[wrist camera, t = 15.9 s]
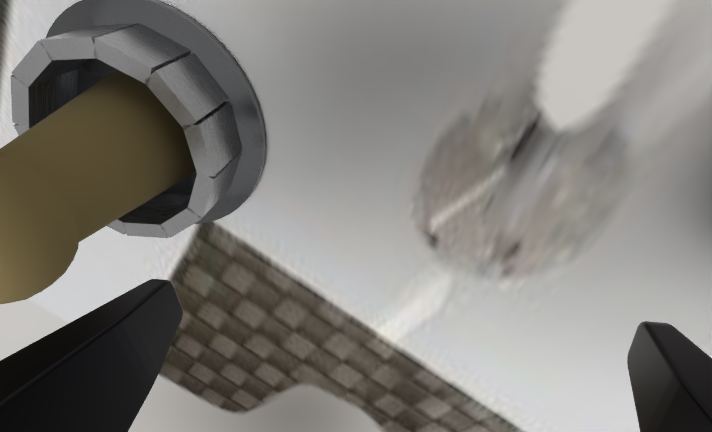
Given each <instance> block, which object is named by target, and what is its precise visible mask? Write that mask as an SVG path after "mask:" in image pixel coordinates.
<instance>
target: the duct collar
mask: <svg viewBox="0 0 712 432" xmlns="http://www.w3.org/2000/svg"><path fill="white" fill-rule="evenodd" d="M118 70H120V71H122V72H123V73H125V74H127V75H129V76H131V77H133V78H135V79H137V80H139V81H141V82H143V83H145V84H146V85H147V86H148V87H149V89H150V90H151V91H152V92H153V93H154V94H155V96H156V97H157V98H158V99H159V100H160V101H161V103H162V104H163V105H164V106H165V107H166V109H167V110H168V111H169V112H170V113H171V114H172V116H173V117H174V118H175V119H176V120H177V121H178V123H179V124H180V125H181V126H182V127H183V130H184V133H185V136H186V139H187V143H188V146H189V149H190V152H191V156H192V159H193V162H194V165H195V168H196V171H195V172H194V173H192V174H191V175H190V176H188V177H187V178H185V179H183V180H182V181H180V182H178V183H177V184H175V185H173V186H172V187H170V188H168V189H167V190H165V191H163V192H162V193H160V194H158V195H157V196H155V197H153V198H152V199H150V200H148V201H147V202H145V203H143V204H142V205H140V206H138V207H137V208H135V209H133V210H132V211H130V212H128V213H127V214H125V215H123V216H122V217H120V218H118V219H117V220H115V221H113V222H112V223H110V224H108V225H107V226H108V227H110V228H112V229H114V230H116V231H118V232H120V233H122V234H125V233H126V234H127V235H128V236H144V237H160V238H168V237H172V236H174V235H176V234H177V233H179V232H181V231H182V230H184V229H186V228H187V227H189V226H191V225H192V224H198V223H205V222H210V221H214V220H217V219H220V218H222V217H224V216H226V215H228V214H230V213H231V212H233V211H234V210H236V209H237V208H238V207H239V206H240V205H241V204H242V203H243V202H244V201H245V200H246V199H247V198H248V197H249V195H250V194H251V193H252V191H253V190H254V188H255V187H256V185H257V183H258V181H259V179H260V177H261V174H262V170H263V167H264V163H265V156H266V133H265V126H264V120H263V117H262V113H261V109H260V106H259V103H258V101H257V98H256V96H255V93H254V90H253V89H252V87H251V85H250V83H249V81H248V79H247V77H246V75H245V74H244V72H243V71H242V69H241V68H240V66H239V65H238V63H237V62H236V60H235V59H234V57H233V56H232V55H231V54H230V53H229V51H228V50H227V49H226V48H225V47H224V45H223V44H222V43H221V42H220V41H219V40H218V39H217V38H216V37H215V36H213V35H212V34H211V33H210V32H209V31H208V30H207V29H206V28H204V27H203V26H202V25H201V24H199V23H198V22H197V21H196V20H194V19H193V18H191V17H190V16H188V15H186V14H185V13H183V12H181V11H180V10H178V9H176V8H174V7H172V6H170V5H168V4H166V3H163V2H161V1H158V0H82V1H79V2H77V3H75V4H74V5H72V6H71V7H69V8H67V9H66V10H65V11H64V12H63V13H62V14H61V15H60V16H59V17H58V18H57V19H56V20H55V22H54V23H53V25H52V26H51V28H50V29H49V31H48V34H47V36H46V38H45V39H41V40H40V41H38V42H37V43H36V44H35V45H34V46H33V48H32V49H31V50H30V51H29V52H28V54H27V55H26V56H25V57H24V58H23V60H22V61H21V62H20V63H19V64H18V66H17V67H16V68H15V69H14V70H13V72H12V74H13V75H11V95H12V120H13V122H14V123H16V124H15V125H14V127H15V129H16V131H17V133H18V135H19V136H20V135H21V134H23V133H24V132H26V131H27V130H29V129H30V128H32V127H33V126H35V125H36V124H37V123H39V122H40V121H42V120H43V119H45V118H46V117H48V116H49V115H51V114H52V113H54V112H55V111H57V110H58V109H59V108H61V107H62V106H64V105H65V104H67V103H68V102H70V101H71V100H73V99H74V98H76V97H77V96H78V95H80V94H81V93H83V92H84V91H86V90H87V89H89V88H90V87H92V86H93V85H95V84H96V83H98V82H99V81H100V80H102V79H103V78H105V77H106V76H108V75H109V74H111V73H112V72H115V71H118Z"/></svg>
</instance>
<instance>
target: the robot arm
mask: <svg viewBox="0 0 712 432" xmlns="http://www.w3.org/2000/svg"><path fill="white" fill-rule="evenodd" d="M182 316H183V308H182V305H181V303H180V300H179V298H178V295H177V293H176V290H175V288H174V285H173V284H172V283H171V282H170V281H168V280H159V279H152V280H149V281H147V282H145V283H143V284H141V285H139V286H137V287H136V288H134V289H132V290H130V291H128V292H126V293H125V294H123V295H121V296H119V297H117V298H115V299H113V300H112V301H110V302H108V303H106V304H104V305H102V306H101V307H99V308H97V309H95V310H93V311H91V312H89V313H88V314H86V315H84V316H82V317H80V318H78V319H77V320H75V321H73V322H71V323H69V324H67V325H66V326H64V327H62V328H60V329H58V330H56V331H55V332H53V333H51V334H49V335H47V336H45V337H43V338H41V339H40V340H38V341H36V342H34V343H32V344H30V345H29V346H27V347H25V348H23V349H21V350H19V351H18V352H16V353H14V354H12V355H10V356H8V357H6V358H5V359H3V360H1V361H0V432H128V430H129V428H130V426H131V425H132V423H133V421H134V419H135V417H136V416H137V414H138V412H139V410H140V408H141V406H142V405H143V403H144V401H145V399H146V397H147V395H148V394H149V392H150V390H151V388H152V386H153V384H154V382H155V380H156V377H157V375H158V373H159V371H160V369H161V366H162V364H163V362H164V359H165V357H166V355H167V352H168V350H169V348H170V345H171V343H172V341H173V338H174V336H175V334H176V331H177V329H178V327H179V324H180V322H181V320H182ZM627 363H628V370H629V376H630V381H631V386H632V391H633V396H634V401H635V406H636V412H637V417H638V422H639V427H640V432H712V358H711V357H709V356H708V355H707V354H706V353H705V352H703V351H702V350H701V349H700V348H699V347H697V346H696V345H695V344H694V343H693V342H691V341H690V340H689V339H688V338H687V337H685V336H684V335H683V334H682V333H681V332H679V331H678V330H677V329H676V328H675V327H673V326H672V325H670V324H667V323H658V322H647V321H645V322H642V323H640V325H639V326H638V328H637V331H636V333H635V336H634V339H633V342H632V344H631V347H630V350H629V353H628V360H627Z"/></svg>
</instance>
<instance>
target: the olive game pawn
mask: <svg viewBox="0 0 712 432" xmlns="http://www.w3.org/2000/svg"><path fill="white" fill-rule="evenodd" d="M195 171H196V168H195V165H194V162H193V159H192V156H191V152H190V149H189V146H188V143H187V139H186V136H185V133H184V130H183V127H182V126H181V125H180V124H179V123H178V121H177V120H176V119H175V118H174V117H173V116H172V114H171V113H170V112H169V111H168V110H167V109H166V107H165V106H164V105H163V104H162V103H161V101H160V100H159V99H158V98H157V97H156V96H155V94H154V93H153V92H152V91H151V90H150V89H149V87H148V86H147V85H146V84H145V83H143V82H141V81H139V80H137V79H135V78H133V77H131V76H129V75H127V74H125V73H123V72H122V71H120V70H118V71H115V72H112V73H111V74H109V75H108V76H106V77H105V78H103V79H102V80H100V81H99V82H98V83H96V84H95V85H93V86H92V87H90V88H89V89H87V90H86V91H84V92H83V93H81V94H80V95H78V96H77V97H76V98H74V99H73V100H71V101H70V102H68V103H67V104H65V105H64V106H62V107H61V108H59V109H58V110H57V111H55V112H54V113H52V114H51V115H49V116H48V117H46V118H45V119H43V120H42V121H40V122H39V123H37V124H36V125H35V126H33V127H32V128H30V129H29V130H27V131H26V132H24V133H23V134H21V135H20V136H18V137H17V138H16V139H14V140H13V141H11V142H10V143H8V144H7V145H5V146H4V147H2V148H1V149H0V304H5V303H11V302H15V301H20V300H25V299H28V298H30V297H32V296H33V295H35V294H37V293H39V292H41V291H43V290H44V289H46V288H47V287H49V286H50V285H51V284H53V283H54V282H55V281H56V280H57V279H58V278H59V277H61V276H62V275H63V274H64V273H65V272H66V270H67V269H68V267H69V265H70V264H71V262H72V261H73V259H74V257H75V254H76V252H77V249H78V243H79V242H80V241H81V240H83V239H85V238H87V237H88V236H90V235H92V234H93V233H95V232H97V231H98V230H100V229H102V228H103V227H105V226H107V225H108V224H110V223H112V222H113V221H115V220H117V219H118V218H120V217H122V216H123V215H125V214H127V213H128V212H130V211H132V210H133V209H135V208H137V207H138V206H140V205H142V204H143V203H145V202H147V201H148V200H150V199H152V198H153V197H155V196H157V195H158V194H160V193H162V192H163V191H165V190H167V189H168V188H170V187H172V186H173V185H175V184H177V183H178V182H180V181H182V180H183V179H185V178H187V177H188V176H190V175H191V174H192V173H194V172H195Z"/></svg>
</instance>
